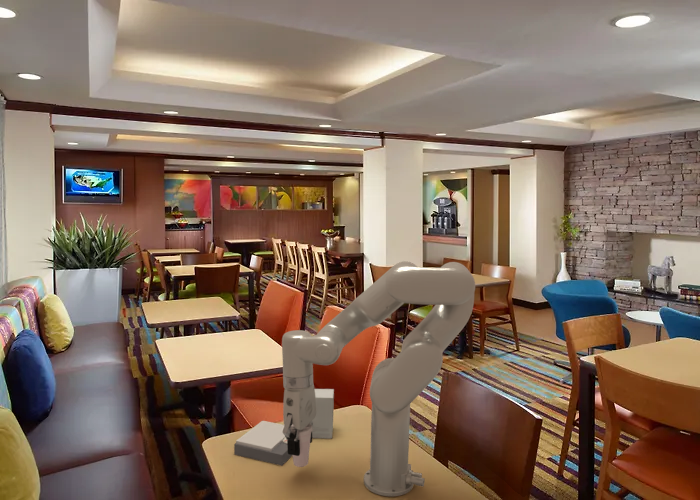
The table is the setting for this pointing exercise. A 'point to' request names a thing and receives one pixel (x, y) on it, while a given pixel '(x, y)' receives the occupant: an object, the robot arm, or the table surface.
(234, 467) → the table surface
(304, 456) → the smoothie
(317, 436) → the supplement box
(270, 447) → the scale
